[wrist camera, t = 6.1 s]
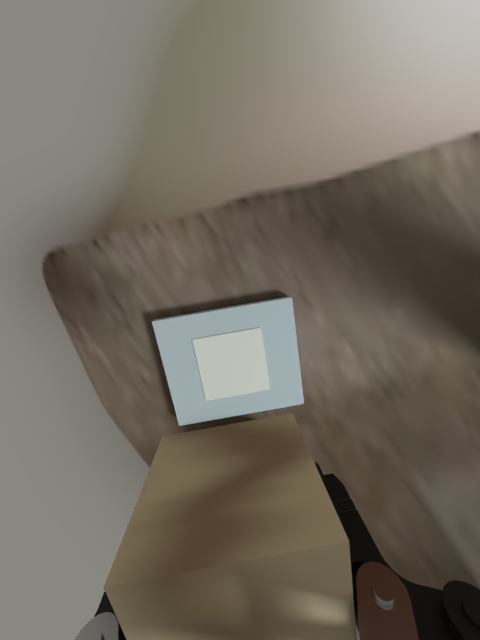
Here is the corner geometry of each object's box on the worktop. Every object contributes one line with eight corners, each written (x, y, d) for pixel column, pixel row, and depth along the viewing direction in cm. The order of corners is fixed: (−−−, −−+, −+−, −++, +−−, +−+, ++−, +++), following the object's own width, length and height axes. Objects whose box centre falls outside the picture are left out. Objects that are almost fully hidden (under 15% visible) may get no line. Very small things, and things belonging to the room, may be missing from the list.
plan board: (289, 296, 23) (292, 297, 22) (301, 398, 26) (304, 404, 25) (154, 319, 23) (151, 321, 22) (181, 420, 26) (178, 426, 25)
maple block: (292, 413, 10) (349, 541, 5) (305, 513, 12) (360, 686, 7) (162, 436, 10) (103, 586, 5) (190, 534, 12) (164, 726, 7)
